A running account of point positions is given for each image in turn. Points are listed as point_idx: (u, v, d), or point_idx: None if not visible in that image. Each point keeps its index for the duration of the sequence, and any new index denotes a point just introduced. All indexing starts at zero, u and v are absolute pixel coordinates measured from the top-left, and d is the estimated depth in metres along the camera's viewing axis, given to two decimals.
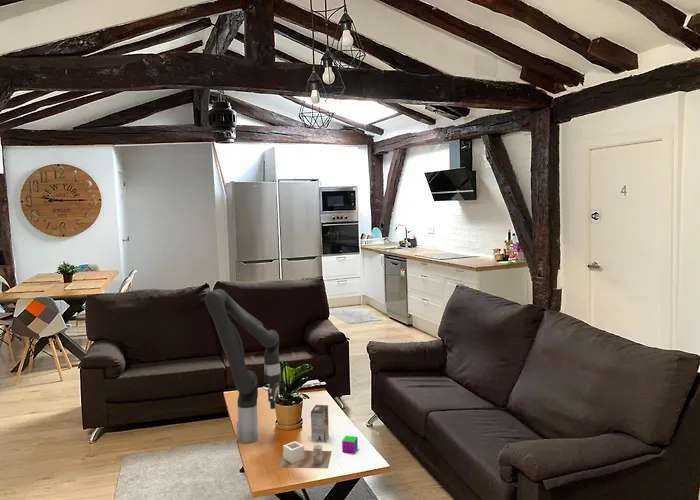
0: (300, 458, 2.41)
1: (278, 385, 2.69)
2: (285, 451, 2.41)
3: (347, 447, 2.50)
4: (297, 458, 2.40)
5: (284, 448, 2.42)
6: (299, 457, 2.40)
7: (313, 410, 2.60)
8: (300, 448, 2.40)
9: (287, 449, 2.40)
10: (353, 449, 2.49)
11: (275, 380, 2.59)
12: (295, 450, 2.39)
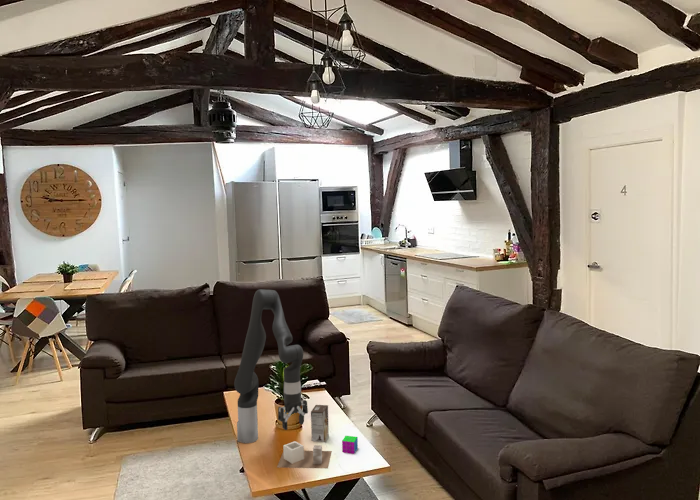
0: (300, 458, 2.41)
1: None
2: (285, 451, 2.41)
3: (347, 447, 2.50)
4: (297, 458, 2.40)
5: (284, 448, 2.42)
6: (299, 457, 2.40)
7: (313, 410, 2.60)
8: (300, 448, 2.40)
9: (287, 449, 2.40)
10: (353, 449, 2.49)
11: None
12: (295, 450, 2.39)
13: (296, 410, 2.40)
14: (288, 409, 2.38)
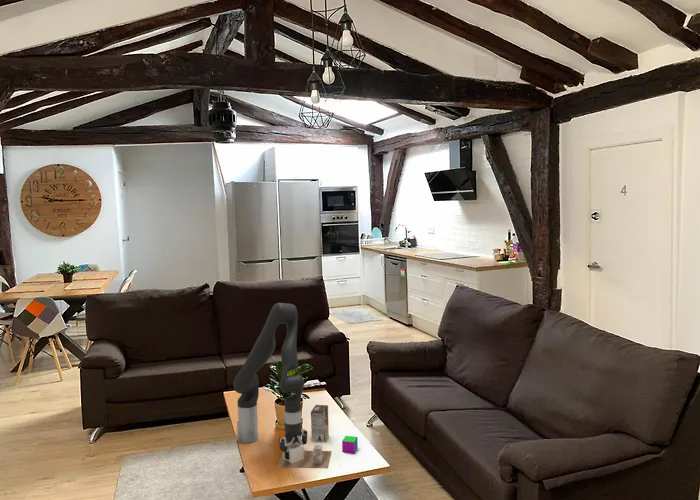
0: (300, 458, 2.41)
1: None
2: None
3: (347, 447, 2.50)
4: (297, 458, 2.40)
5: None
6: (299, 457, 2.40)
7: (313, 410, 2.60)
8: (300, 448, 2.40)
9: None
10: (353, 449, 2.49)
11: None
12: (295, 450, 2.39)
13: (296, 439, 2.41)
14: (288, 439, 2.39)
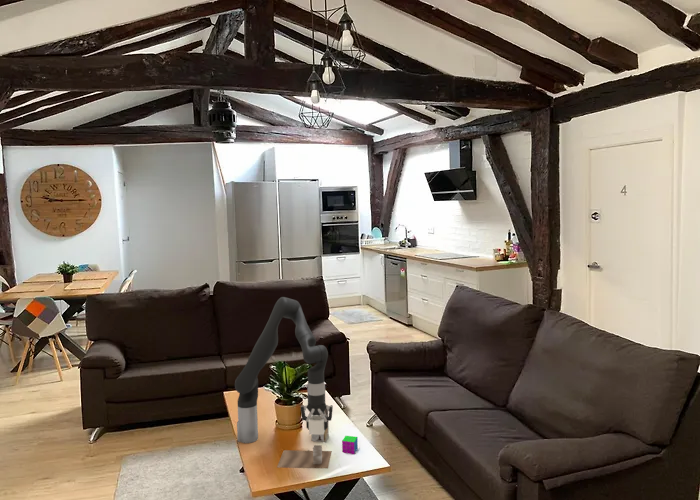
0: (319, 432, 2.34)
1: (304, 410, 2.38)
2: None
3: (347, 447, 2.50)
4: (315, 431, 2.34)
5: None
6: (317, 430, 2.34)
7: None
8: (319, 422, 2.34)
9: (309, 419, 2.37)
10: (353, 449, 2.49)
11: None
12: (313, 422, 2.34)
13: (318, 412, 2.35)
14: (309, 409, 2.36)
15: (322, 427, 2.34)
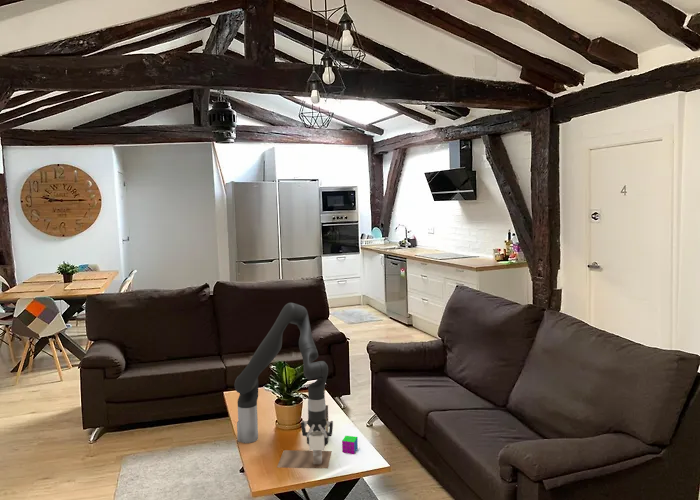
0: (319, 448, 2.35)
1: None
2: None
3: (347, 447, 2.50)
4: (315, 447, 2.35)
5: None
6: (317, 446, 2.35)
7: None
8: (319, 438, 2.34)
9: (310, 435, 2.38)
10: (353, 449, 2.49)
11: None
12: (313, 438, 2.34)
13: (318, 428, 2.36)
14: (309, 424, 2.36)
15: (322, 443, 2.34)
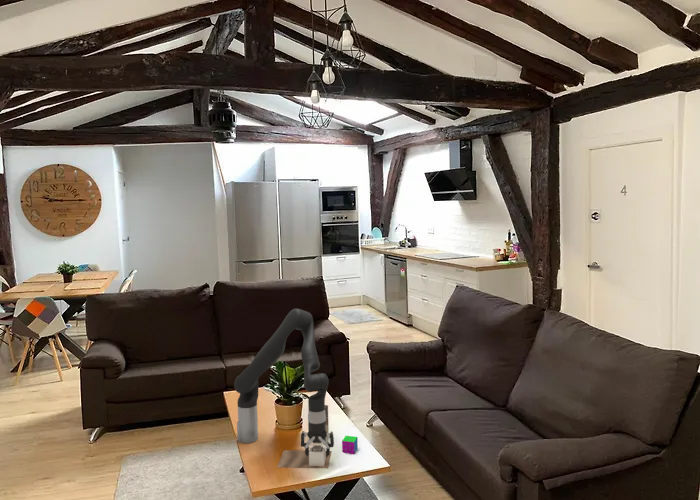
0: (319, 464, 2.35)
1: None
2: None
3: (347, 447, 2.50)
4: (315, 462, 2.35)
5: None
6: (317, 462, 2.35)
7: None
8: (319, 454, 2.35)
9: None
10: (353, 449, 2.49)
11: None
12: (313, 454, 2.35)
13: (319, 440, 2.36)
14: (309, 436, 2.37)
15: (322, 459, 2.35)
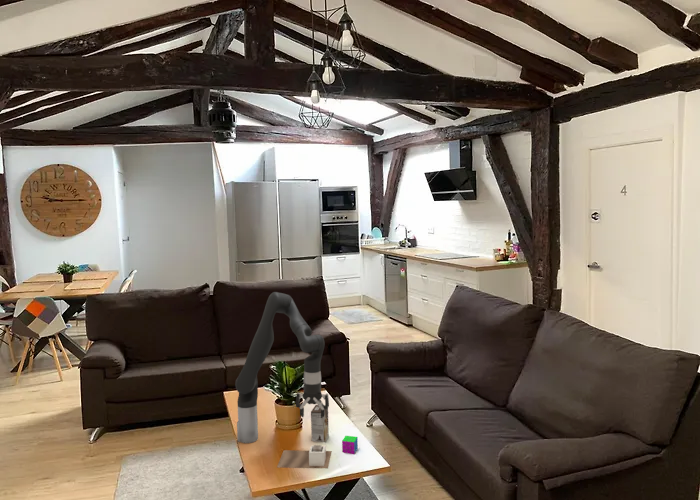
0: (319, 464, 2.35)
1: (299, 398, 2.41)
2: None
3: (347, 447, 2.50)
4: (315, 462, 2.35)
5: None
6: (317, 462, 2.35)
7: (313, 410, 2.60)
8: (319, 454, 2.35)
9: None
10: (353, 449, 2.49)
11: None
12: (313, 454, 2.35)
13: (314, 401, 2.38)
14: (304, 397, 2.38)
15: (322, 459, 2.35)
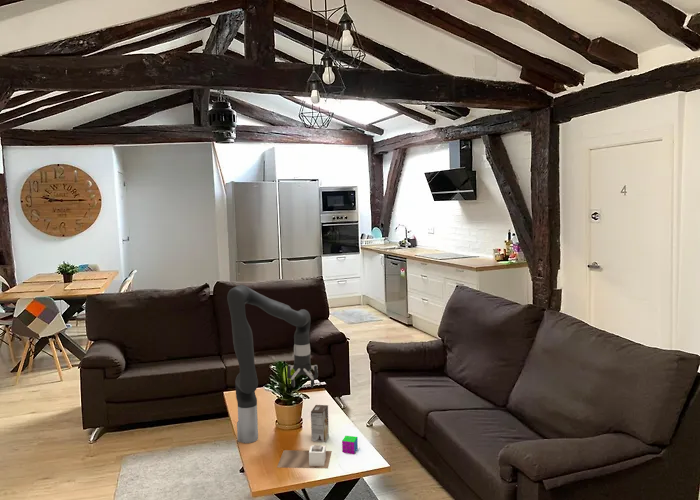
0: (319, 464, 2.35)
1: (290, 369, 2.57)
2: None
3: (347, 447, 2.50)
4: (315, 462, 2.35)
5: None
6: (317, 462, 2.35)
7: (313, 410, 2.60)
8: (319, 454, 2.35)
9: None
10: (353, 449, 2.49)
11: None
12: (313, 454, 2.35)
13: (304, 372, 2.55)
14: (295, 369, 2.55)
15: (322, 459, 2.35)
